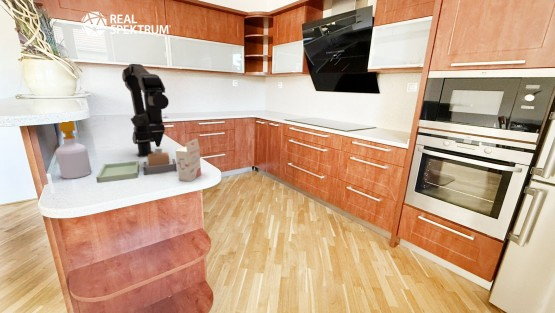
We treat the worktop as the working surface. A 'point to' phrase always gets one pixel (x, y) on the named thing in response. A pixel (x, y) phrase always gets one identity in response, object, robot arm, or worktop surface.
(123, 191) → the worktop surface
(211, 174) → the worktop surface
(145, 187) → the worktop surface
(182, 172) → the ink cartridge box
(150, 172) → the printer bay
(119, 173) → the tray
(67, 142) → the soap bottle
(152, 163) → the raised panel orange block
